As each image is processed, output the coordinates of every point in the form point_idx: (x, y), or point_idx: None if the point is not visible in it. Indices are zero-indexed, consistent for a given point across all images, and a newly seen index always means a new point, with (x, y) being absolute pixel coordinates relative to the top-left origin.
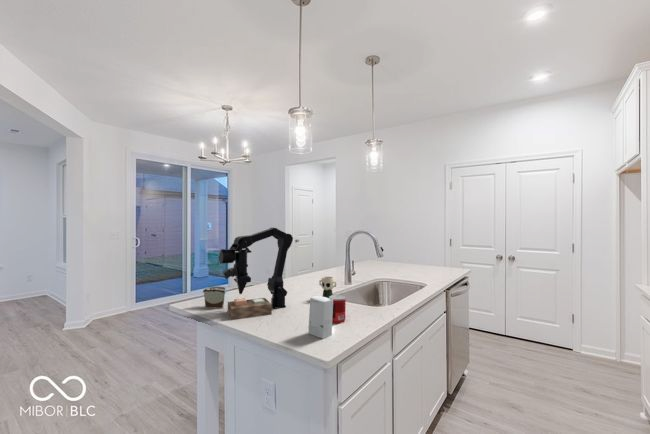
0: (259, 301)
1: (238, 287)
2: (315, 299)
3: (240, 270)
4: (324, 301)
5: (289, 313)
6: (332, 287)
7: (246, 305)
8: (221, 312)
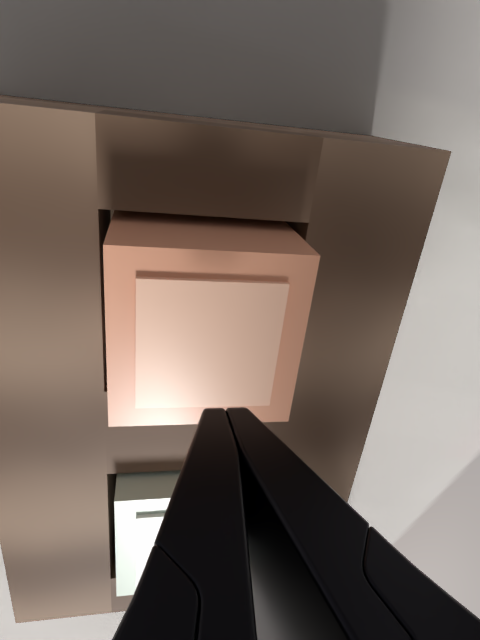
0: (115, 549)
1: (220, 546)
2: None
3: None
4: None
5: (14, 623)
6: None
7: (70, 377)
8: (401, 45)
